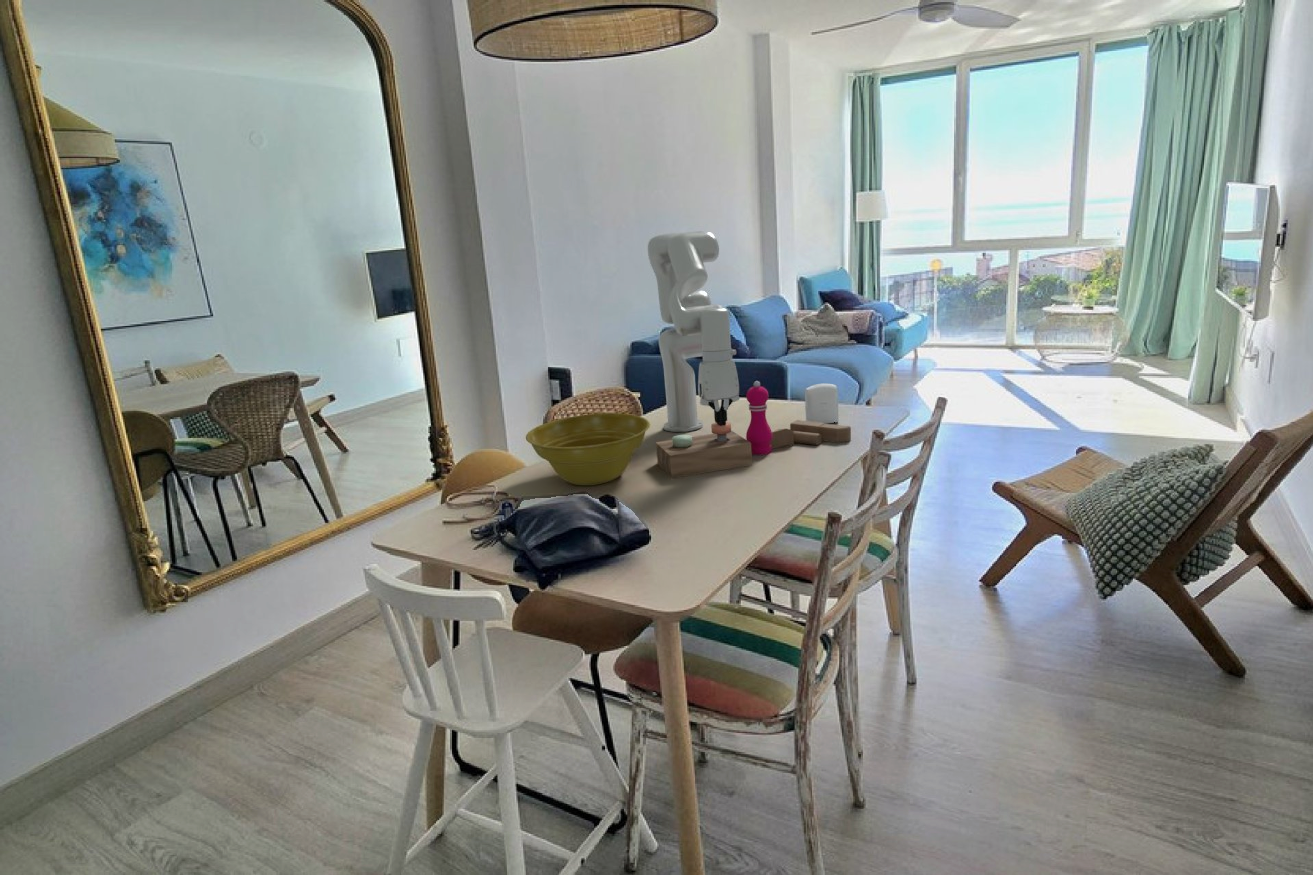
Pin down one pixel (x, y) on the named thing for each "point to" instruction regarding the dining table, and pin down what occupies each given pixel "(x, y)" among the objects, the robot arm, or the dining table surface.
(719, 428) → the red button
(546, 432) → the planter bowl
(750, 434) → the pepper mill
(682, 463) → the button panel
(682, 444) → the green button
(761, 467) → the dining table surface
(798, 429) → the wooden block set
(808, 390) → the photo printer
